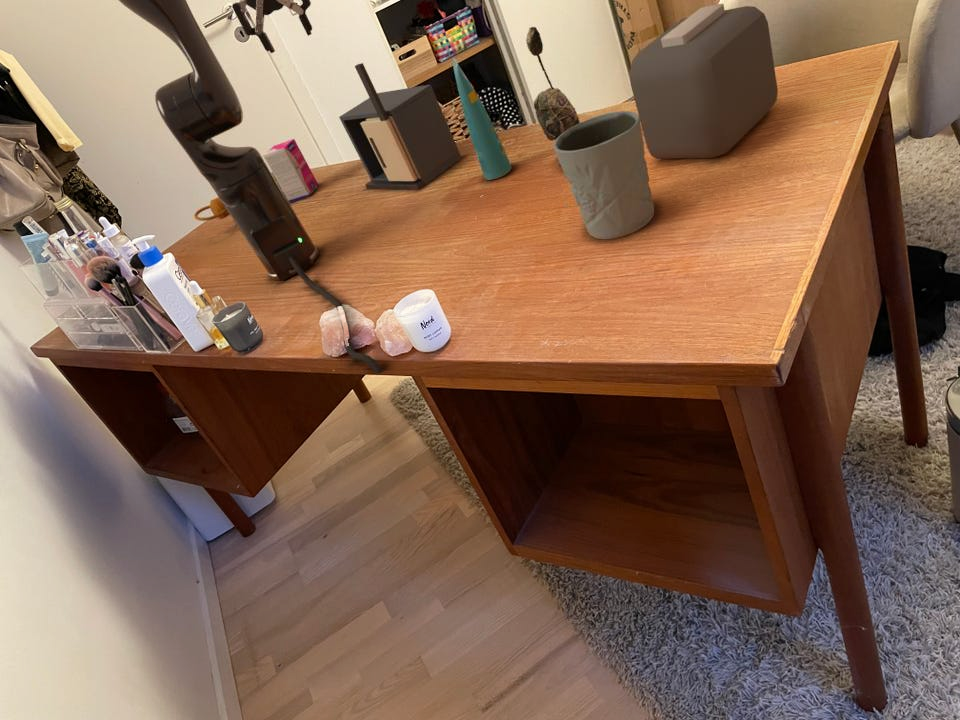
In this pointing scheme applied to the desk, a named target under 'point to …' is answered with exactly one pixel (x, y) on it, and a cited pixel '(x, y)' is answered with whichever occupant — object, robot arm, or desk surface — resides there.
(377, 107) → the door
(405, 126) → the closet
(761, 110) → the alarm clock
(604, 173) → the grey embossed cup
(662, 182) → the desk surface
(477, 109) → the teal cone
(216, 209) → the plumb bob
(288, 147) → the supplement box
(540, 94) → the plant with pod
